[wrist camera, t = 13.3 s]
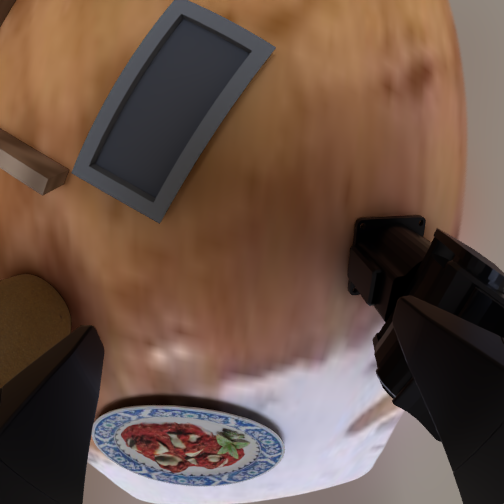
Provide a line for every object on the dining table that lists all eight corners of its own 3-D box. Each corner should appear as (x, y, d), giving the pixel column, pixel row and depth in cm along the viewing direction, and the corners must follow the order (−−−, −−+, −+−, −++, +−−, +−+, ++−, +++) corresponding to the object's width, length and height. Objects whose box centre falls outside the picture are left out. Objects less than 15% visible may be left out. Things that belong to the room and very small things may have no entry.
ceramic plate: (146, 476, 39) (144, 489, 36) (59, 393, 27) (51, 411, 25) (290, 464, 39) (293, 479, 36) (266, 374, 27) (270, 397, 25)
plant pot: (-33, 248, 18) (-130, 344, 4) (74, 221, 19) (-68, 377, 5) (24, 363, 25) (-25, 470, 10) (130, 367, 25) (99, 519, 11)
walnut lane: (184, -17, 13) (179, -36, 10) (63, 184, 18) (42, 195, 15) (44, -49, 8) (28, -61, 5) (-44, 116, 13) (-65, 120, 10)
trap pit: (271, 53, 16) (276, 47, 14) (164, 215, 20) (159, 223, 18) (181, 4, 13) (177, -4, 12) (81, 168, 17) (71, 173, 16)
